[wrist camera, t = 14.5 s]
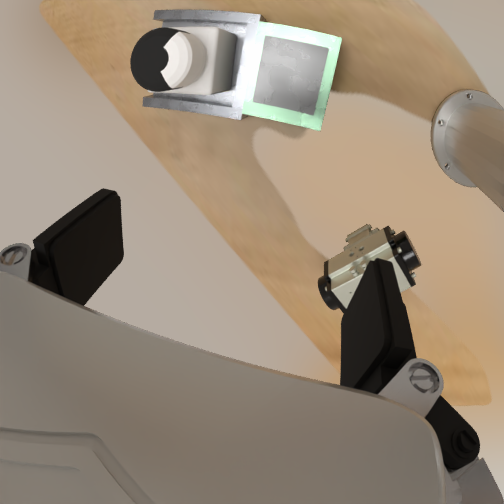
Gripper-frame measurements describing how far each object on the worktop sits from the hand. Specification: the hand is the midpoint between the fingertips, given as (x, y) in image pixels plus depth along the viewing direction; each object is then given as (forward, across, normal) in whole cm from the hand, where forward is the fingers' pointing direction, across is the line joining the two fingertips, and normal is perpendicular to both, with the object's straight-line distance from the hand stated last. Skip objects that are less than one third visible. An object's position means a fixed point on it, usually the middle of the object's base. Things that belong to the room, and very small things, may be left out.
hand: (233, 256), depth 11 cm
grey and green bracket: (+28, +8, -6) cm, 30 cm away
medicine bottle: (+28, +12, -6) cm, 31 cm away
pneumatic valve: (+28, -12, +12) cm, 33 cm away
